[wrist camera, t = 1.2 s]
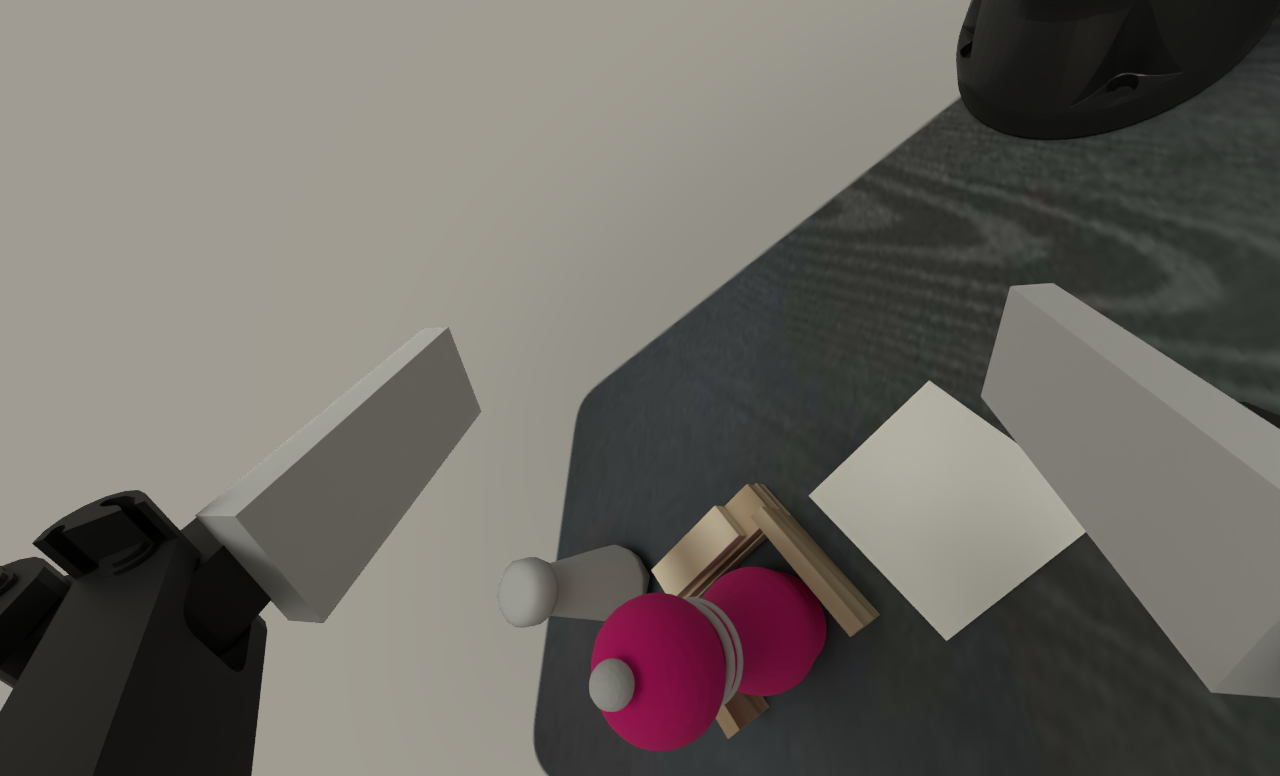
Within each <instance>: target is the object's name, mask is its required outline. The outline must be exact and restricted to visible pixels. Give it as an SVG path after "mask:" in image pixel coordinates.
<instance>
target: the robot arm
mask: <svg viewBox="0 0 1280 776" xmlns="http://www.w3.org/2000/svg"><path fill="white" fill-rule="evenodd" d="M1279 8H1280V0H971V3H970V6H969V9H968V12H967V14H966V17H965V20H964V23H963V26H962V29H961V32H960V35H959V40H958V45H957V53H956V56H957V57H956V62H957V75H958V76H957V77H958V86H959V91H960V94H961V97H962V99H963V101H964V103H965V105H966V106H967V108H968V109H969V110H970V111H971V113H972V114H973V115H974V116H976V117H977V118H978V119H979V120H981V121H982V122H983V123H985V124H987V125H988V126H990V127H992V128H994V129H997V130H999V131H1002V132H1005V133H1009V134H1012V135H1017V136H1022V137H1029V138H1046V139H1053V138H1070V137H1079V136H1086V135H1091V134H1097V133H1101V132H1105V131H1110V130H1113V129H1117V128H1120V127H1124V126H1127V125H1130V124H1133V123H1136V122H1139V121H1141V120H1144V119H1147V118H1149V117H1152V116H1154V115H1156V114H1159V113H1161V112H1163V111H1165V110H1167V109H1169V108H1172V107H1174V106H1176V105H1177V104H1179V103H1181V102H1183V101H1185V100H1187V99H1189V98H1190V97H1192V96H1194V95H1195V94H1197V93H1199V92H1200V91H1202V90H1203V89H1205V88H1206V87H1208V86H1209V85H1211V84H1212V83H1214V82H1215V81H1216V80H1218V79H1219V78H1220V77H1222V76H1223V75H1224V74H1225V73H1227V72H1228V71H1229V70H1230V69H1232V68H1233V67H1234V66H1235V65H1236V64H1237V63H1238V62H1239V61H1241V60H1242V59H1243V58H1244V57H1245V56H1246V55H1247V54H1248V53H1249V52H1250V50H1251V49H1252V48H1253V47H1254V46H1255V45H1256V44H1257V42H1258V41H1259V40H1260V39H1261V37H1262V36H1263V35H1264V33H1265V32H1266V31H1267V29H1268V27H1269V26H1270V24H1271V23H1272V21H1273V19H1274V17H1275V15H1276V14H1277V12H1278V10H1279ZM981 397H982V399H983V400H984V401H985V402H986V404H987V405H988V406H989V408H990V409H991V410H992V411H993V413H994V414H995V415H996V417H997V418H998V419H999V420H1000V422H1001V423H1002V424H1003V426H1004V427H1005V428H1006V429H1007V431H1008V432H1009V433H1010V435H1011V436H1012V437H1013V438H1014V440H1015V441H1016V442H1017V444H1018V445H1019V446H1020V447H1021V449H1022V450H1023V451H1024V453H1025V454H1026V455H1027V456H1028V458H1029V459H1030V460H1031V462H1032V463H1033V464H1034V465H1035V467H1036V468H1037V469H1038V471H1039V472H1040V473H1041V474H1042V476H1043V477H1044V478H1045V480H1046V481H1047V482H1048V483H1049V485H1050V486H1051V487H1052V489H1053V490H1054V491H1055V492H1056V494H1057V495H1058V496H1059V498H1060V499H1061V500H1062V501H1063V503H1064V504H1065V505H1066V507H1067V508H1068V509H1069V510H1070V512H1071V513H1072V514H1073V516H1074V517H1075V518H1076V519H1077V521H1078V522H1079V523H1080V525H1081V526H1082V527H1083V528H1084V530H1085V531H1086V532H1087V534H1088V535H1089V536H1090V537H1091V539H1092V540H1093V541H1094V543H1095V544H1096V545H1097V546H1098V548H1099V549H1100V550H1101V552H1102V553H1103V554H1104V555H1105V557H1106V558H1107V559H1108V561H1109V562H1110V563H1111V564H1112V566H1113V567H1114V568H1115V570H1116V571H1117V572H1118V573H1119V575H1120V576H1121V577H1122V579H1123V580H1124V581H1125V582H1126V584H1127V585H1128V586H1129V588H1130V589H1131V590H1132V591H1133V593H1134V594H1135V595H1136V597H1137V598H1138V599H1139V600H1140V602H1141V603H1142V604H1143V606H1144V607H1145V608H1146V609H1147V611H1148V612H1149V613H1150V615H1151V616H1152V617H1153V618H1154V620H1155V621H1156V622H1157V624H1158V625H1159V626H1160V627H1161V629H1162V630H1163V631H1164V633H1165V634H1166V635H1167V636H1168V638H1169V639H1170V640H1171V642H1172V643H1173V644H1174V645H1175V647H1176V648H1177V649H1178V651H1179V652H1180V653H1181V654H1182V656H1183V657H1184V658H1185V660H1186V661H1187V662H1188V663H1189V665H1190V666H1191V667H1192V669H1193V670H1194V671H1195V672H1196V674H1197V675H1198V676H1199V678H1200V679H1201V680H1202V681H1203V683H1204V684H1205V685H1206V687H1207V688H1208V689H1209V690H1210V692H1212V693H1225V694H1237V695H1250V696H1263V697H1276V698H1280V416H1279V415H1276V414H1274V413H1271V412H1269V411H1266V410H1264V409H1261V408H1259V407H1256V406H1254V405H1251V404H1249V403H1246V402H1237V401H1235V400H1234V399H1232V398H1230V397H1229V396H1227V395H1226V394H1224V393H1223V392H1221V391H1220V390H1218V389H1216V388H1215V387H1213V386H1212V385H1210V384H1209V383H1207V382H1206V381H1204V380H1203V379H1201V378H1199V377H1198V376H1196V375H1195V374H1193V373H1192V372H1190V371H1189V370H1187V369H1185V368H1184V367H1182V366H1181V365H1179V364H1178V363H1176V362H1175V361H1173V360H1172V359H1170V358H1168V357H1167V356H1165V355H1164V354H1162V353H1161V352H1159V351H1158V350H1156V349H1154V348H1153V347H1151V346H1150V345H1148V344H1147V343H1145V342H1144V341H1142V340H1141V339H1139V338H1137V337H1136V336H1134V335H1133V334H1131V333H1130V332H1128V331H1127V330H1125V329H1123V328H1122V327H1120V326H1119V325H1117V324H1116V323H1114V322H1113V321H1111V320H1109V319H1108V318H1106V317H1105V316H1103V315H1102V314H1100V313H1099V312H1097V311H1096V310H1094V309H1092V308H1091V307H1089V306H1088V305H1086V304H1085V303H1083V302H1082V301H1080V300H1078V299H1077V298H1075V297H1074V296H1072V295H1071V294H1069V293H1068V292H1066V291H1065V290H1063V289H1061V288H1060V287H1058V286H1057V285H1055V284H1054V283H1047V284H1033V285H1019V286H1010V289H1009V293H1008V297H1007V301H1006V304H1005V308H1004V312H1003V316H1002V319H1001V323H1000V327H999V330H998V334H997V338H996V342H995V345H994V349H993V353H992V356H991V360H990V364H989V368H988V371H987V375H986V379H985V382H984V386H983V390H982V394H981ZM480 412H481V410H480V407H479V404H478V402H477V399H476V397H475V394H474V392H473V389H472V386H471V384H470V381H469V379H468V376H467V374H466V371H465V368H464V366H463V363H462V361H461V358H460V355H459V353H458V351H457V348H456V345H455V343H454V340H453V338H452V335H451V332H450V330H449V327H441V328H427V329H422V330H421V331H420V332H418V333H417V334H416V335H415V336H414V337H412V338H411V339H410V340H409V341H408V342H406V343H405V344H404V345H403V346H401V347H400V348H399V349H398V350H397V351H395V352H394V353H393V354H392V355H391V356H389V357H388V358H387V359H386V360H384V361H383V362H382V363H381V364H379V365H378V366H377V367H376V368H375V369H373V370H372V371H371V372H370V373H369V374H367V375H366V376H365V377H364V378H362V379H361V380H360V381H359V382H357V383H356V384H355V385H354V386H353V387H352V388H350V389H349V390H348V391H347V392H345V393H344V394H343V395H342V396H340V397H339V398H338V399H337V400H336V401H334V402H333V403H332V404H331V405H329V406H328V407H327V408H326V409H325V410H323V411H322V412H321V413H320V414H319V415H317V416H316V417H315V418H314V419H312V420H311V421H310V422H309V423H307V424H306V425H305V426H304V427H303V428H301V429H300V430H299V431H298V432H296V433H295V434H294V435H293V436H292V437H290V438H289V439H288V440H287V441H286V442H284V443H283V444H282V445H281V446H279V448H277V449H276V450H275V451H273V452H272V453H271V454H270V455H269V456H267V457H266V458H265V459H264V460H262V461H261V462H260V463H259V464H258V465H256V466H255V467H254V468H253V469H251V470H250V471H249V472H248V473H246V474H245V475H244V476H243V477H242V478H240V479H239V480H238V481H237V482H236V483H234V484H233V485H232V486H231V487H230V488H228V489H227V490H226V491H225V492H223V493H222V494H221V495H220V496H218V497H217V498H216V499H215V500H214V501H212V502H211V503H210V504H209V505H208V506H206V507H205V508H204V509H203V510H201V511H200V512H199V513H198V514H196V515H195V516H196V517H197V518H195V519H194V520H193V521H192V522H191V523H189V524H188V525H187V526H186V527H184V528H183V529H182V530H181V531H180V530H179V529H178V528H177V527H176V526H175V525H174V524H173V523H172V522H171V521H170V519H169V518H167V517H166V515H165V514H164V513H163V512H162V511H161V510H160V509H159V508H158V507H157V506H156V504H155V503H153V501H152V500H151V499H150V498H149V497H148V496H147V495H146V494H145V493H143V492H141V491H139V490H134V491H124V492H120V493H117V494H113V495H110V496H106V497H104V498H101V499H99V500H97V501H94V502H92V503H90V504H88V505H85V506H83V507H81V508H80V509H78V510H76V511H74V512H72V513H71V514H69V515H67V516H65V517H63V518H62V519H60V520H59V521H58V522H56V523H55V524H53V525H52V526H51V527H49V528H48V529H46V530H45V531H44V532H43V533H42V534H41V535H40V536H39V537H38V538H37V539H36V540H35V541H34V542H33V545H35V546H36V547H37V548H38V549H39V550H41V551H42V552H43V553H44V554H45V555H46V556H48V557H49V558H50V559H51V560H52V561H54V562H55V563H56V564H57V565H58V566H60V567H61V568H62V569H63V570H64V571H66V572H67V573H68V574H69V575H66V576H63V575H62V574H61V573H60V572H59V571H57V570H56V569H55V568H54V567H53V566H51V565H50V564H49V563H48V562H46V561H45V560H44V559H41V558H37V557H31V558H26V559H20V560H17V561H15V562H12V563H9V564H6V565H4V566H0V680H1V681H2V682H4V683H5V684H7V685H9V686H10V687H12V688H13V690H12V692H11V694H10V696H9V697H8V699H7V701H6V703H5V704H4V706H3V708H2V710H1V711H0V776H251V773H252V764H253V755H254V746H255V737H256V728H257V719H258V709H259V700H260V691H261V682H262V673H263V664H264V655H265V645H266V636H267V627H266V622H265V621H264V620H263V619H262V618H261V617H260V616H259V615H258V614H259V613H260V612H261V611H262V610H263V609H264V607H265V606H266V605H267V604H268V603H269V602H270V601H272V602H273V603H274V604H275V605H276V607H277V608H278V609H279V610H280V611H281V612H282V613H283V614H284V616H285V617H286V618H287V619H288V620H290V621H303V622H316V623H324V622H325V620H326V619H327V618H328V616H329V615H330V614H331V612H332V611H333V610H334V608H335V607H336V605H337V604H338V603H339V602H340V600H341V599H342V597H343V596H344V595H345V594H346V592H347V591H348V589H349V588H350V587H351V585H352V584H353V583H354V581H355V580H356V579H357V577H358V576H359V575H360V573H361V572H362V571H363V569H364V568H365V567H366V565H367V564H368V563H369V561H370V560H371V558H372V557H373V556H374V555H375V553H376V552H377V551H378V549H379V548H380V547H381V545H382V544H383V542H384V541H385V540H386V539H387V537H388V536H389V535H390V533H391V532H392V530H393V529H394V528H395V526H396V525H397V524H398V522H399V521H400V520H401V518H402V517H403V515H404V514H405V513H406V512H407V510H408V509H409V508H410V506H411V505H412V504H413V502H414V501H415V499H416V498H417V497H418V496H419V494H420V493H421V491H422V490H423V489H424V488H425V486H426V485H427V484H428V482H429V481H430V480H431V478H432V477H433V476H434V474H435V473H436V471H437V470H438V469H439V467H440V466H441V465H442V463H443V462H444V461H445V459H446V458H447V457H448V455H449V454H450V453H451V451H452V450H453V449H454V447H455V446H456V445H457V443H458V442H459V441H460V439H461V438H462V437H463V435H464V434H465V433H466V431H467V430H468V429H469V427H470V426H471V424H472V423H473V422H474V421H475V419H476V418H477V416H478V415H479V414H480Z"/></svg>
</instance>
